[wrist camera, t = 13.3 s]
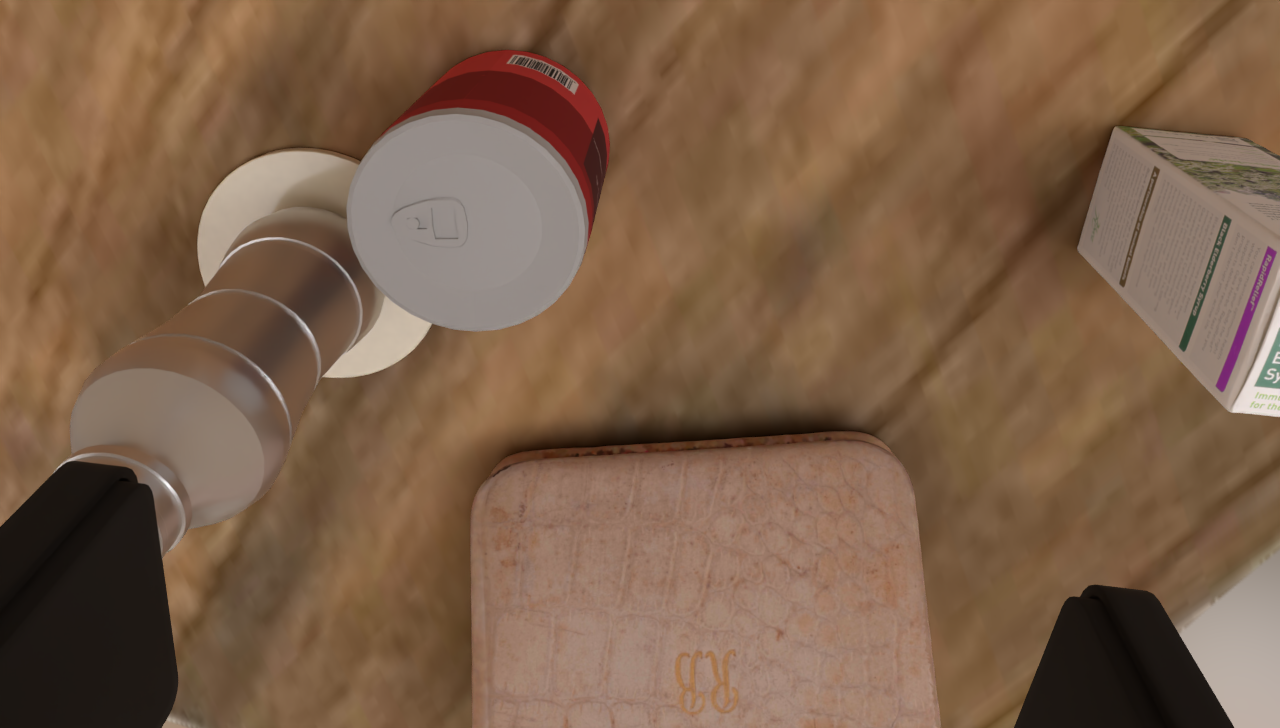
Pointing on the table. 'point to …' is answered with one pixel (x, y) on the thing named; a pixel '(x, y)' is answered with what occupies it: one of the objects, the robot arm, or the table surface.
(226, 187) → the coaster
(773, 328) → the table surface
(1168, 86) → the table surface
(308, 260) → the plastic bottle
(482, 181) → the canned food
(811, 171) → the table surface
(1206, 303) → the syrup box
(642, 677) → the case
